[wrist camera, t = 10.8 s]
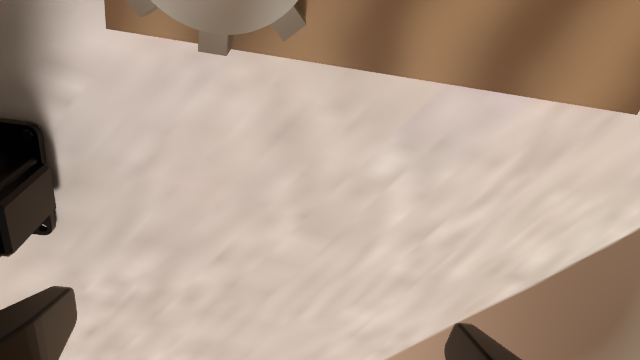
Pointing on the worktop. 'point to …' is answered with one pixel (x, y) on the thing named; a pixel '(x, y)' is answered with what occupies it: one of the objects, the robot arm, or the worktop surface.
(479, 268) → the worktop surface
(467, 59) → the gear board
